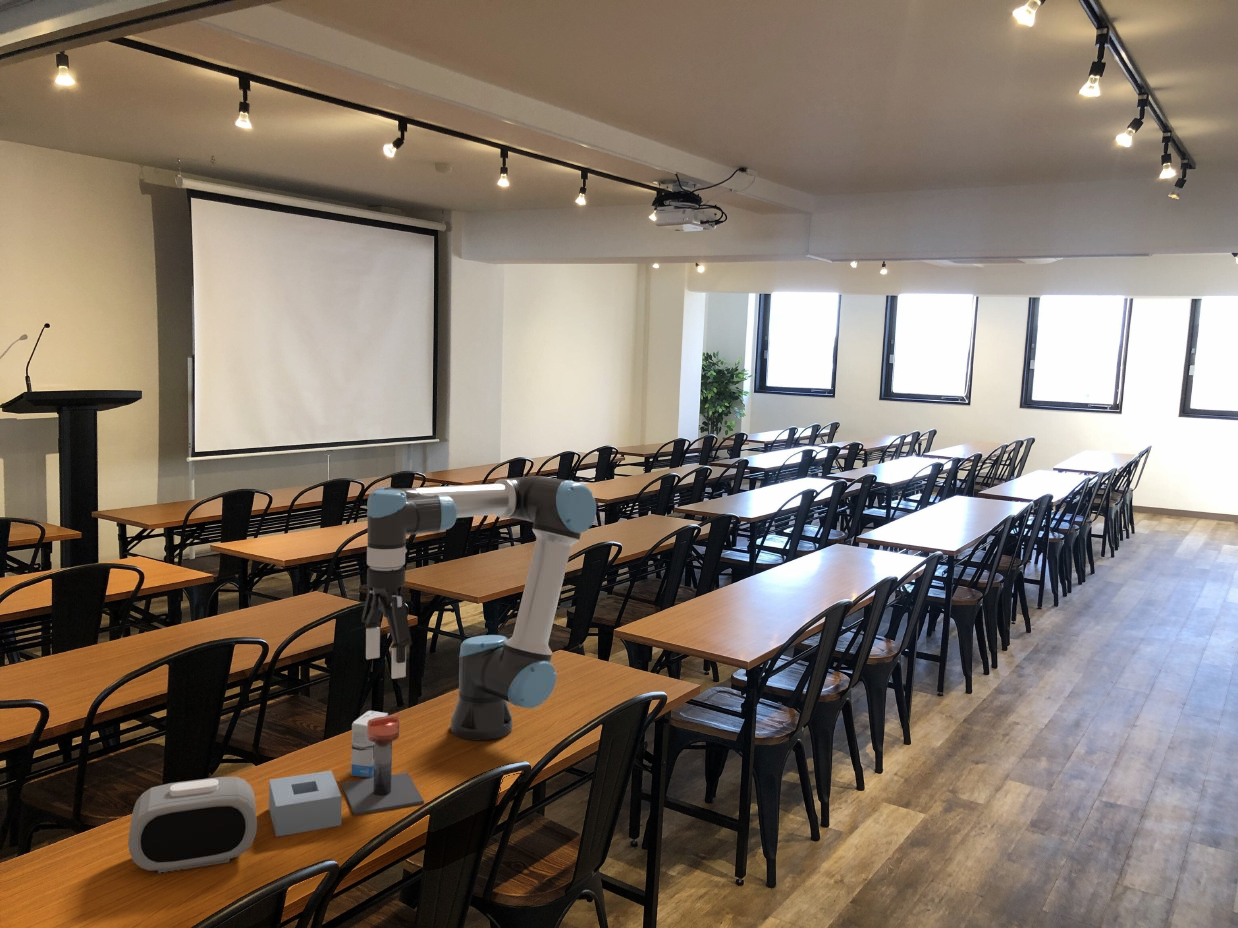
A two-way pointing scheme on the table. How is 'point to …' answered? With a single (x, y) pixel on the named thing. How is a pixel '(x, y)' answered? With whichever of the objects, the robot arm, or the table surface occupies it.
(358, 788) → the mat
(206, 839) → the alarm clock
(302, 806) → the eye block
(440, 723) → the table surface
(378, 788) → the red-capped vial
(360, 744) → the ink box
